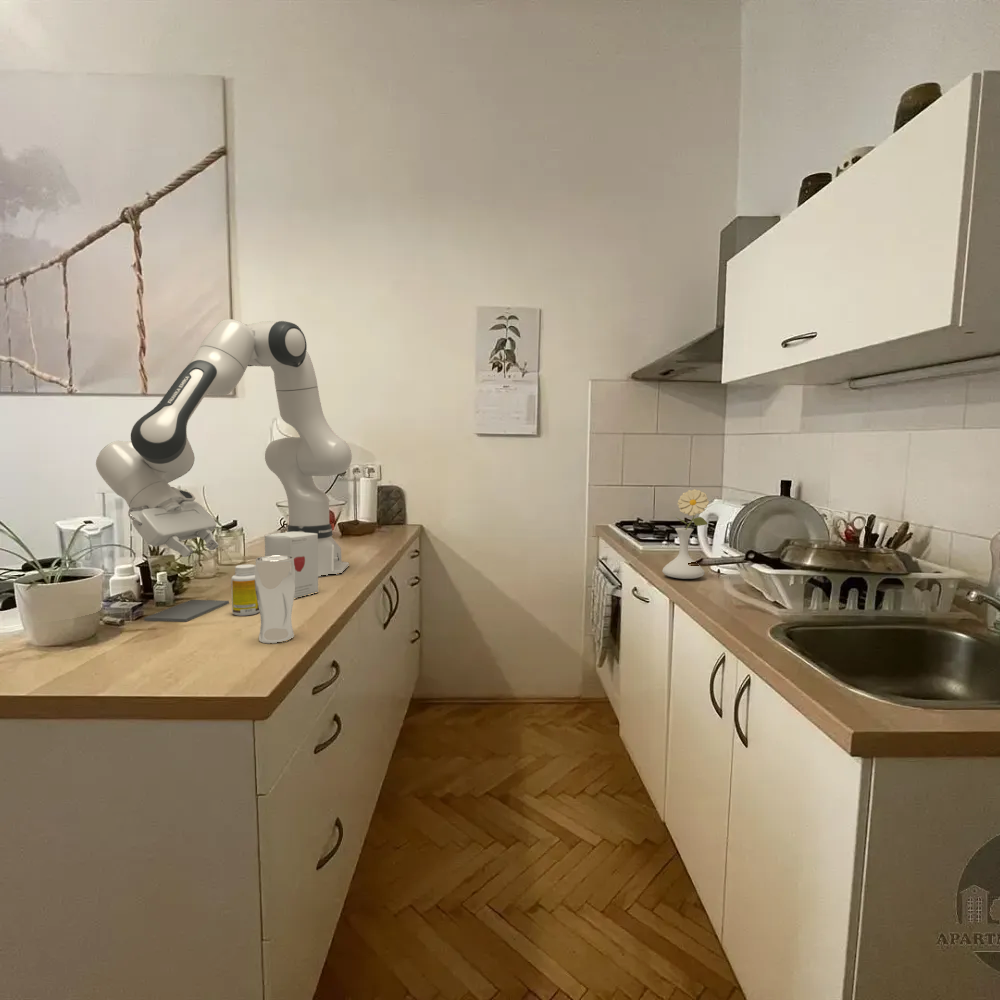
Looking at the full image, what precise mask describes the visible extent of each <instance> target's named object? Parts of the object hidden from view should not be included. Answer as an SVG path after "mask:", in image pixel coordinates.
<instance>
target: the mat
mask: <svg viewBox="0 0 1000 1000" xmlns="http://www.w3.org/2000/svg"><path fill="white" fill-rule="evenodd" d="M229 604H230V600H218V599H217V600H216V599H214V600H211V599H209V600H208V599H190V600H186V601H185V602H181V603H179V604H176V605H174V606H171V607H169V608H167V609H164V610H161V611H157V612H155V613H153V614H150V615H148V616H145V617H144V621H146V622H147V621H148V622H149V621H150V622H174V623H175V622H180V623H186V622H189V621H192V620H194V619H195V618H199V617H201V616H203V615H205V614H208V613H210V612H212V611H215V610H217V609H219V608H221V607H223V606H227V605H229Z"/></svg>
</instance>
